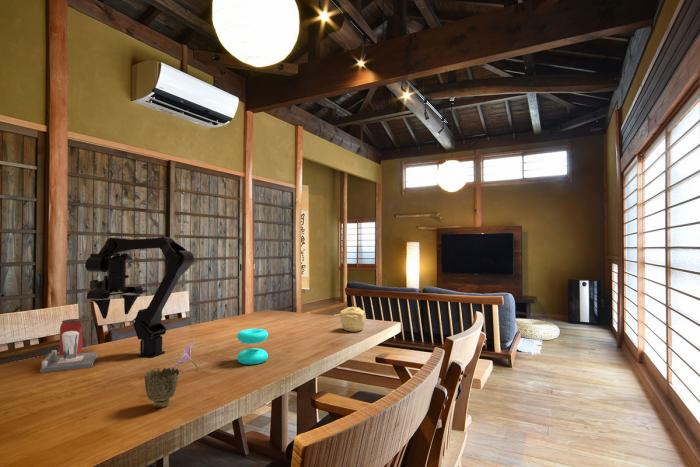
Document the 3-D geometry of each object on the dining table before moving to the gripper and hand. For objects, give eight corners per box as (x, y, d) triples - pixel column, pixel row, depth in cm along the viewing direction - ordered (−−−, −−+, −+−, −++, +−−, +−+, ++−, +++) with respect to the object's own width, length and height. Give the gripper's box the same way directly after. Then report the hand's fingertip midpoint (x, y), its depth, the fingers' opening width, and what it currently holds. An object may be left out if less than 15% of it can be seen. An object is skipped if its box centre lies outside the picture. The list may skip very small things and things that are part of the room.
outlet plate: (97, 355, 137) (97, 346, 137) (91, 367, 124) (91, 356, 124) (51, 360, 131) (51, 350, 131) (40, 372, 118) (40, 362, 118)
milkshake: (83, 358, 128) (83, 327, 128) (62, 362, 124) (63, 330, 124) (79, 356, 131) (80, 326, 131) (60, 359, 127) (60, 328, 127)
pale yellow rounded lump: (338, 332, 175) (338, 308, 176) (343, 327, 187) (343, 304, 187) (363, 333, 173) (363, 309, 174) (367, 328, 185) (367, 305, 185)
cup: (151, 400, 97) (152, 367, 97) (182, 399, 98) (183, 366, 98) (137, 412, 90) (138, 377, 90) (171, 411, 90) (172, 376, 90)
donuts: (231, 331, 131) (257, 326, 138) (231, 361, 130) (256, 355, 138) (248, 335, 124) (274, 330, 131) (247, 367, 123) (273, 361, 131)
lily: (192, 365, 129) (177, 341, 128) (219, 355, 125) (203, 329, 124) (168, 389, 118) (151, 362, 116) (196, 378, 114) (179, 350, 112)
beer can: (70, 357, 134) (71, 322, 134) (54, 356, 135) (55, 321, 136) (86, 352, 140) (87, 318, 141) (71, 351, 142) (72, 318, 142)
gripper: (120, 270, 152) (119, 311, 152) (74, 273, 134) (73, 319, 134) (144, 271, 149) (143, 312, 149) (100, 274, 131) (99, 321, 131)
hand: (115, 316), depth 140 cm, fingers open, 9 cm apart
